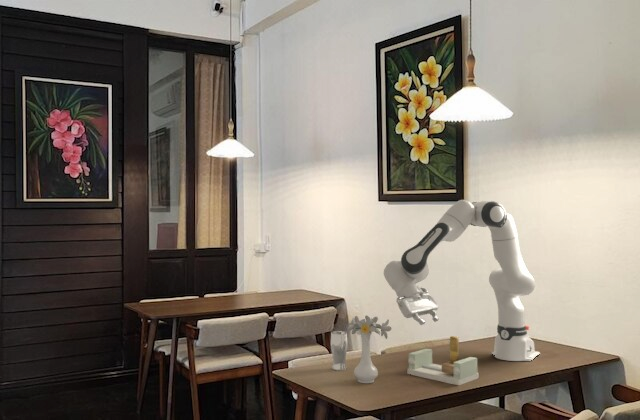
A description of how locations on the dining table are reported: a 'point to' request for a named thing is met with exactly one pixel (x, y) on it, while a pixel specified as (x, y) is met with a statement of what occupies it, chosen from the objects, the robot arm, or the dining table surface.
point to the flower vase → (367, 346)
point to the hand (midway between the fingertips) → (430, 322)
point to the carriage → (452, 355)
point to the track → (424, 368)
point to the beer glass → (339, 350)
